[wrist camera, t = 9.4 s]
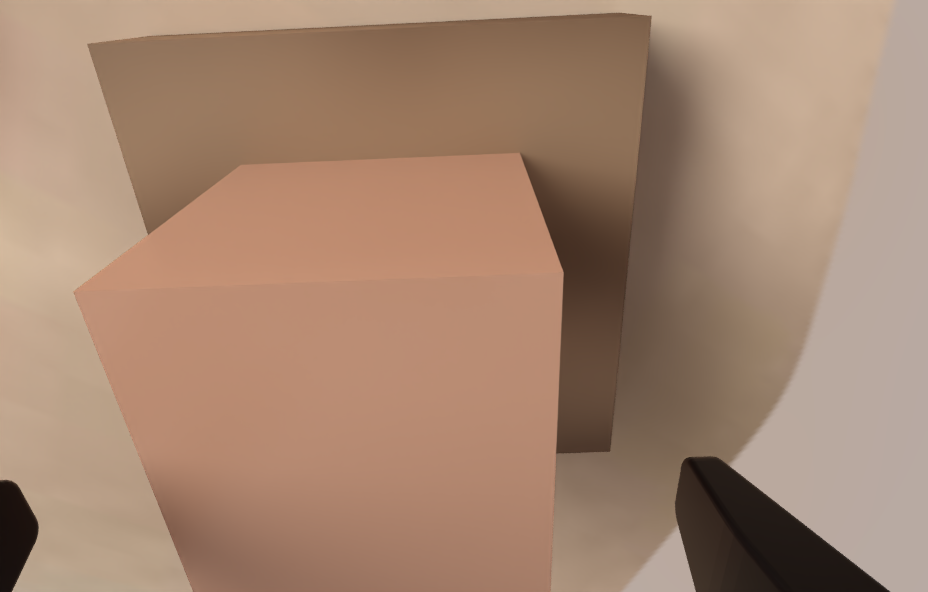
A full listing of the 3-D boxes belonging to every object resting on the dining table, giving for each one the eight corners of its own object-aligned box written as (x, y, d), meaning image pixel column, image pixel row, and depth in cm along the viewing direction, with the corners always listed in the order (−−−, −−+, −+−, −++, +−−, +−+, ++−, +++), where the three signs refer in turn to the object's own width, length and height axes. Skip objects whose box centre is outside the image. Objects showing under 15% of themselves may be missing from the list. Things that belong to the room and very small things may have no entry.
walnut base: (592, 396, 18) (610, 451, 16) (250, 409, 19) (221, 465, 16) (619, 12, 13) (651, 16, 11) (149, 36, 13) (87, 44, 11)
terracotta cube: (519, 382, 15) (549, 593, 10) (291, 390, 15) (198, 603, 10) (519, 153, 12) (564, 272, 7) (240, 164, 12) (73, 291, 7)
